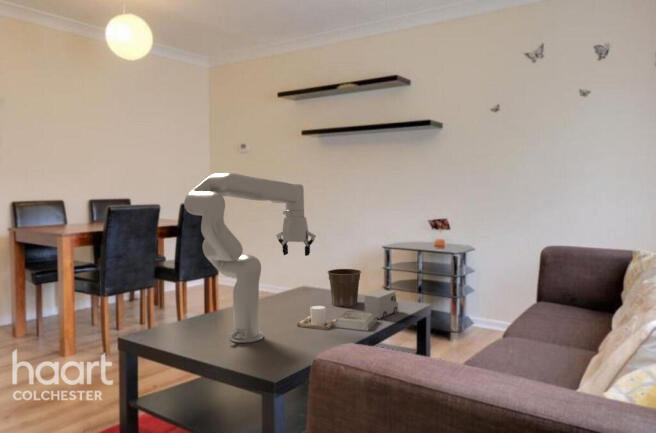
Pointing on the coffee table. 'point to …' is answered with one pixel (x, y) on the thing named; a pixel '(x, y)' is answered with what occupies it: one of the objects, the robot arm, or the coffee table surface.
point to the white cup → (318, 315)
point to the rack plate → (356, 320)
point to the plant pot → (344, 286)
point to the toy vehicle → (381, 303)
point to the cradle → (301, 324)
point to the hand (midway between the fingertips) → (296, 254)
